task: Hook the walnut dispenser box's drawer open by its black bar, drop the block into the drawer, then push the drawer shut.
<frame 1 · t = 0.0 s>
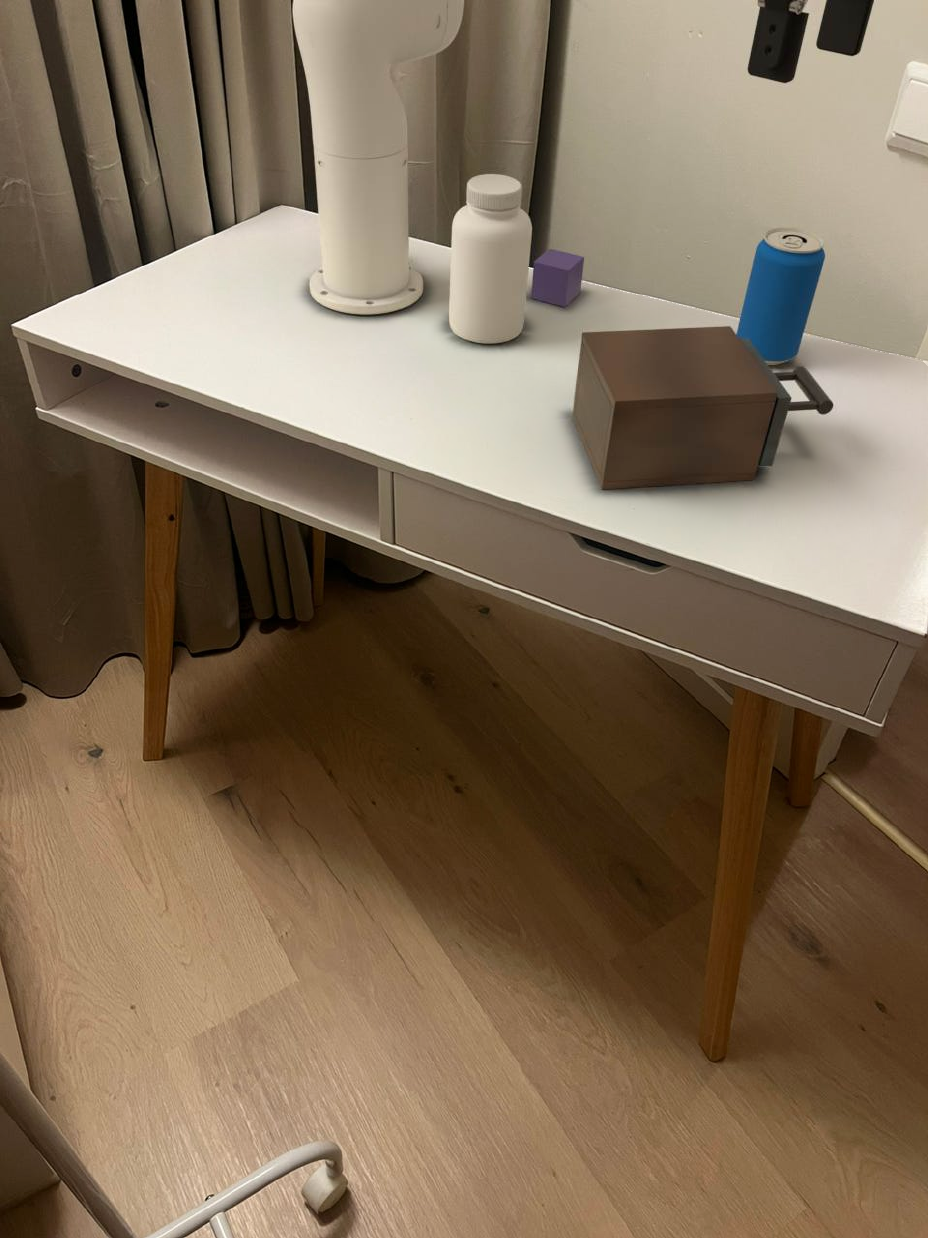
hand: (804, 64, 69), 31 cm above the table, tool pointing down, fingers open, 9 cm apart
dispenser: (659, 447, 90), on the table
pill bottle: (486, 329, 106), on the table
block: (555, 295, 112), on the table
drawer: (721, 402, 87), point 4 cm above the table, slide at 0.5 cm
beverage can: (764, 354, 103), on the table
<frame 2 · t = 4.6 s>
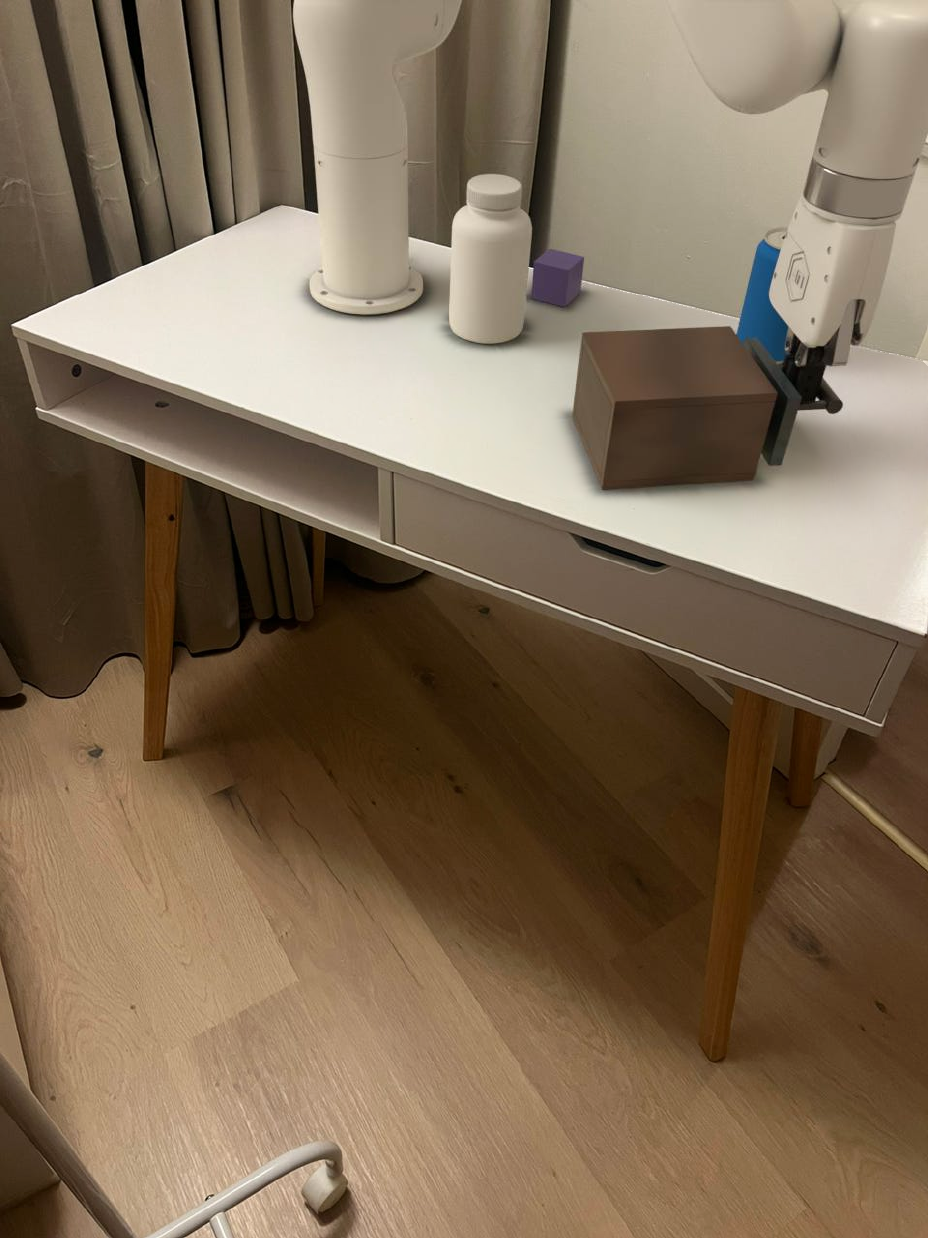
hand: (794, 398, 88), 4 cm above the table, tool pointing down, fingers closed
drawer: (730, 402, 87), point 4 cm above the table, slide at 1.4 cm, touching gripper
everything else where it was.
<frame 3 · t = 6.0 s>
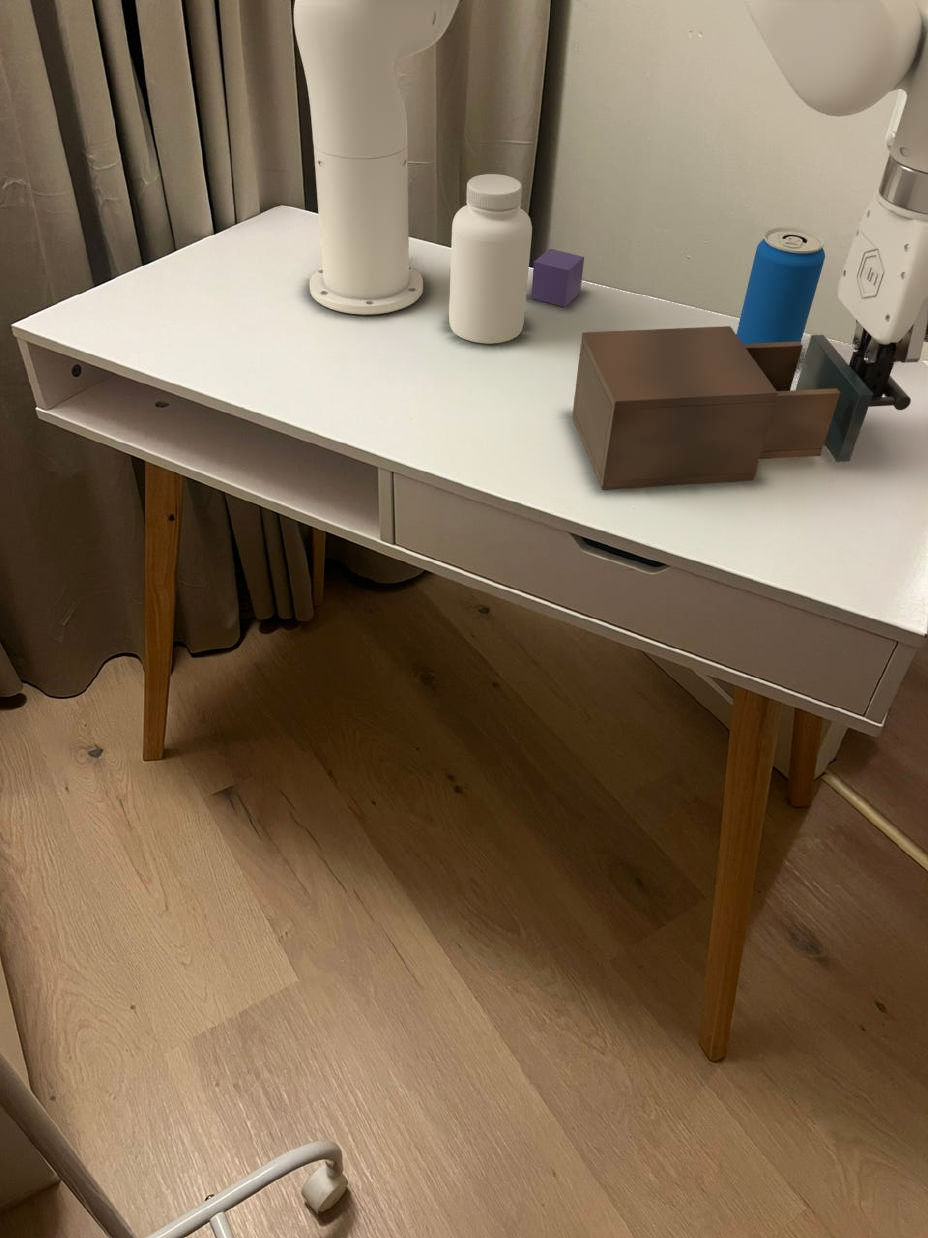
hand: (860, 395, 89), 4 cm above the table, tool pointing down, fingers closed
drawer: (798, 398, 88), point 4 cm above the table, slide at 7.6 cm, touching gripper
everything else where it was.
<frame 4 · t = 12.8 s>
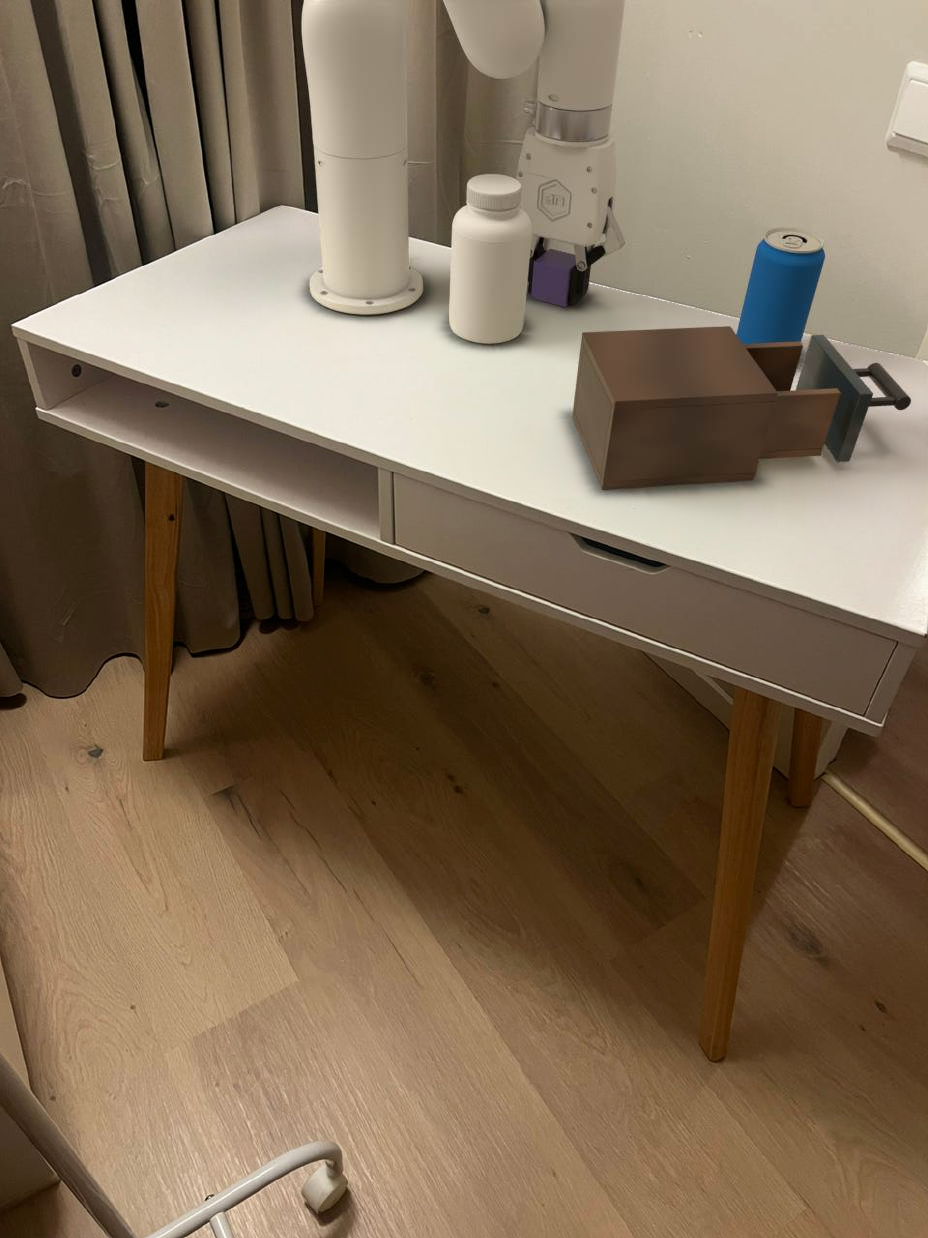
hand: (556, 292, 111), 0 cm above the table, tool pointing down, fingers closed on block, 4 cm apart
block: (555, 295, 112), on the table, touching gripper
drawer: (798, 398, 88), point 4 cm above the table, slide at 7.7 cm
everything else where it was.
when the fingers open (8 cm above the table, at t = 19.8 s): block drops 5 cm, resting on drawer.
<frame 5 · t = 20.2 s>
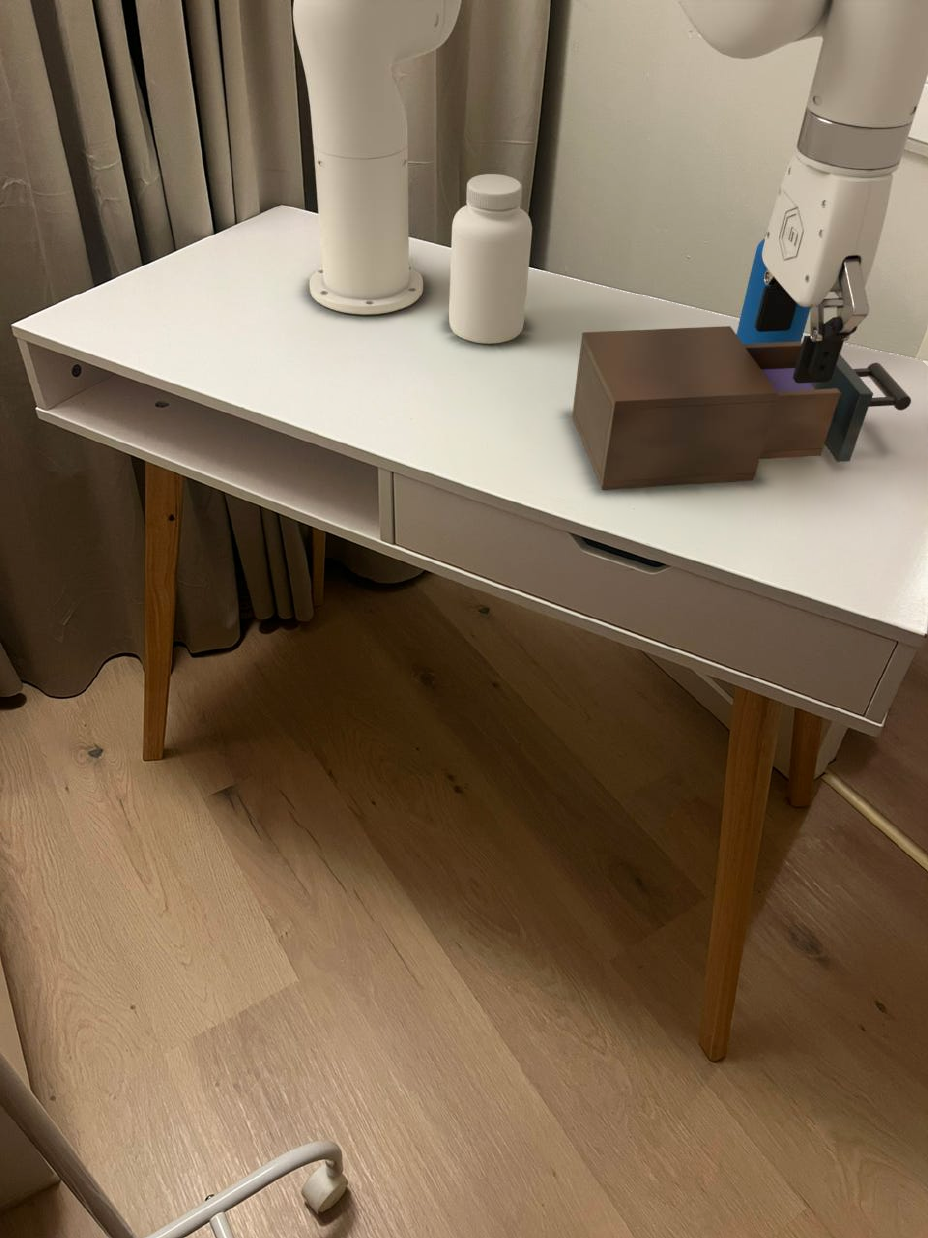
hand: (790, 353, 85), 9 cm above the table, tool pointing down, fingers open, 8 cm apart
block: (773, 422, 90), point 2 cm above the table, touching drawer
drawer: (798, 398, 88), point 4 cm above the table, slide at 7.7 cm, touching block
everything else where it was.
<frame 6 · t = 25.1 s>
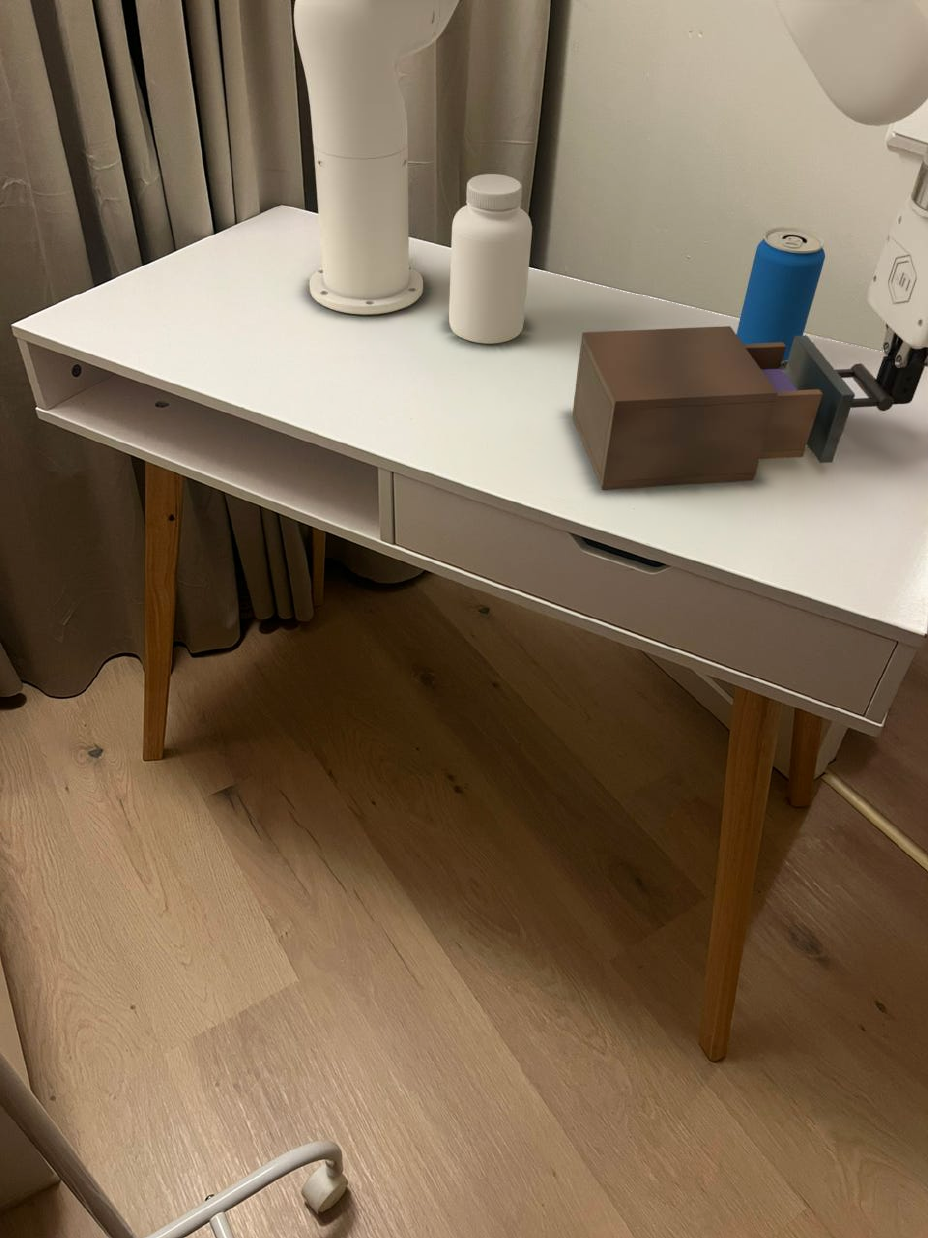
hand: (890, 399, 90), 4 cm above the table, tool pointing down, fingers closed
block: (756, 422, 89), point 2 cm above the table, touching drawer
drawer: (781, 399, 88), point 4 cm above the table, slide at 6.0 cm, touching gripper, block
everything else where it was.
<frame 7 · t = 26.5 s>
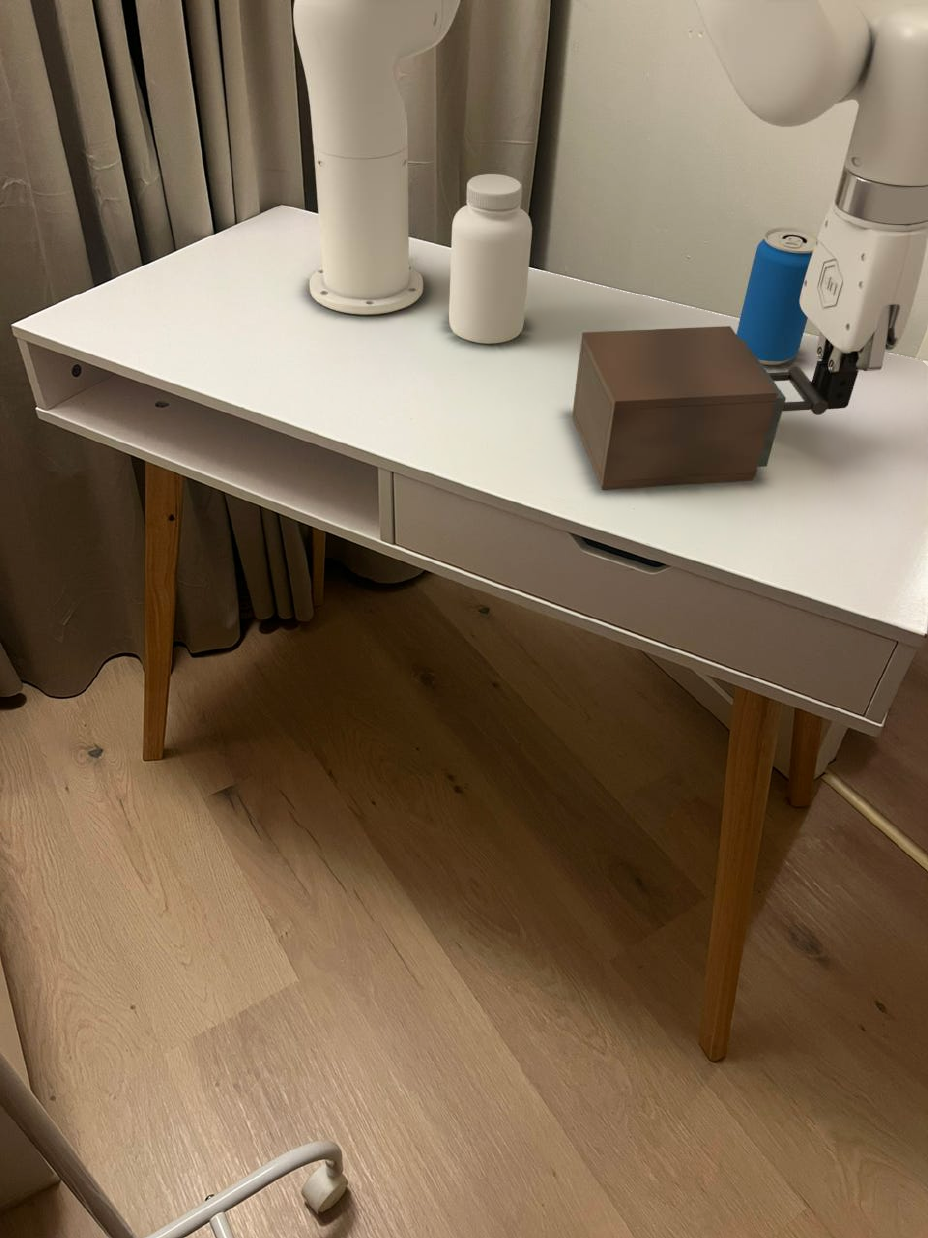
hand: (826, 404, 89), 4 cm above the table, tool pointing down, fingers closed
block: (691, 426, 89), point 2 cm above the table, touching drawer
drawer: (715, 403, 87), point 4 cm above the table, slide at 0.0 cm, touching dispenser, gripper, block
everything else where it was.
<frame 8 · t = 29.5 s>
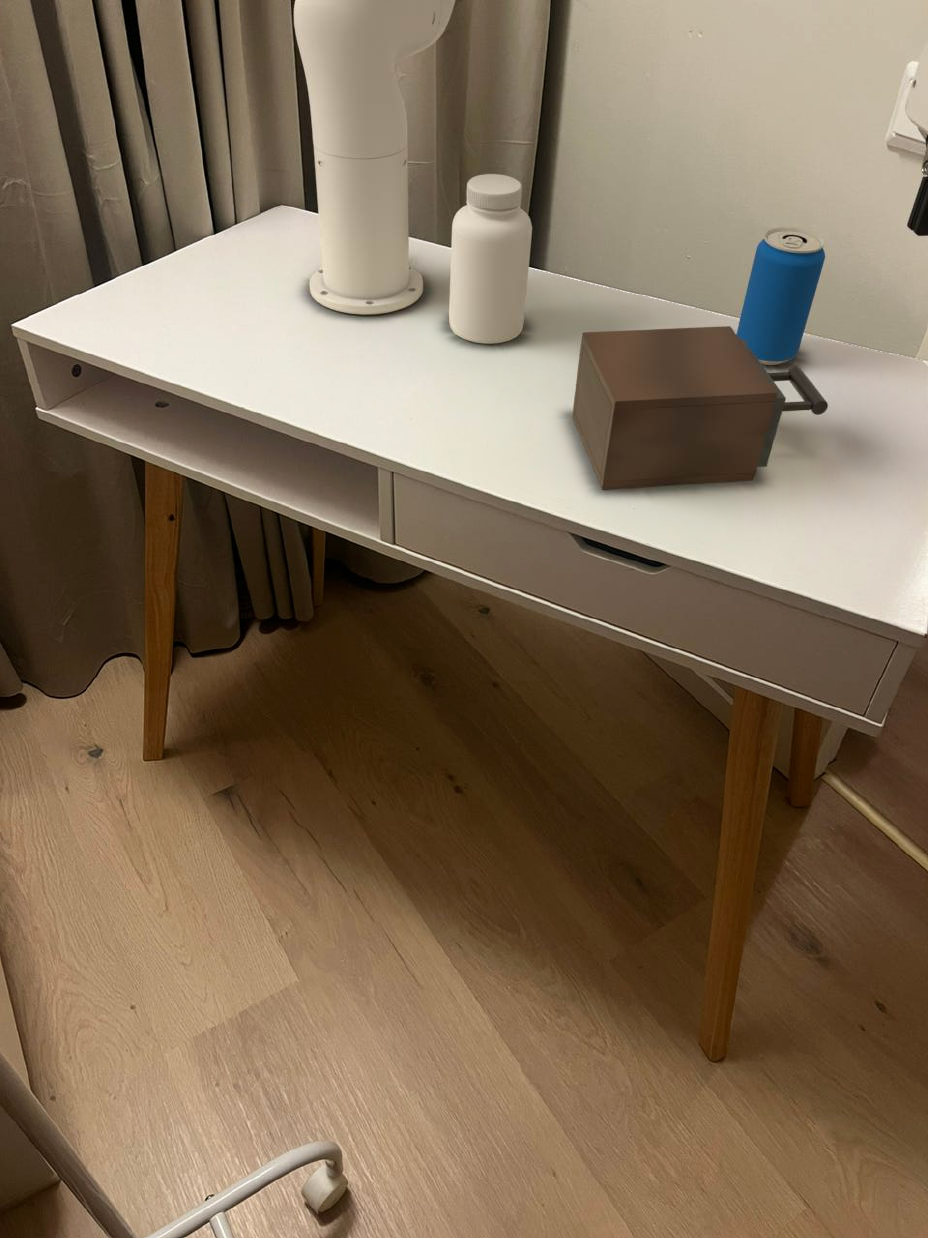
drawer: (715, 403, 87), point 4 cm above the table, slide at 0.0 cm, touching dispenser, block
everything else where it was.
at the end: drawer pulled out 7.7 cm at the most during the clip, back to where it started at the end; block inside the target area in the dispenser (2.6 cm from its centre), point 2.0 cm above the dispenser's base; drawer slide at 0.0 cm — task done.
